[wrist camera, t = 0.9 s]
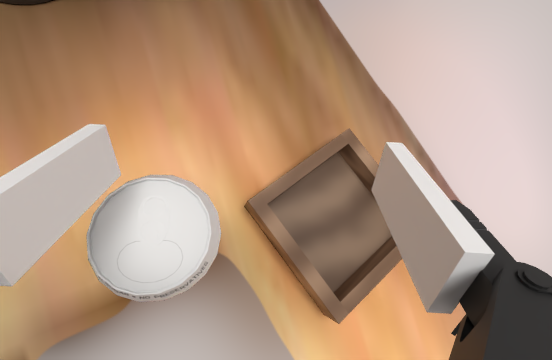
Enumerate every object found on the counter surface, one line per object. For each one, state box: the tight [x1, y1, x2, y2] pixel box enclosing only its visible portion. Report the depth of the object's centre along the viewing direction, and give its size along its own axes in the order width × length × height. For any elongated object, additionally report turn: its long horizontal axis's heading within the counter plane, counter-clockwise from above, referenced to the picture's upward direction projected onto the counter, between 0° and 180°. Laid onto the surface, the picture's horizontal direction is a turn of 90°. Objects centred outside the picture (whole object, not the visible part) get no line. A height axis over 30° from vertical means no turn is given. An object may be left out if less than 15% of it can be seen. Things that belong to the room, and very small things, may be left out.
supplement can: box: [87, 175, 221, 302], centre depth 23 cm, size 8×8×15 cm
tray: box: [245, 129, 402, 324], centre depth 33 cm, size 16×16×4 cm
